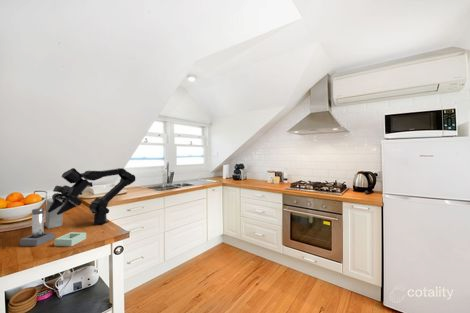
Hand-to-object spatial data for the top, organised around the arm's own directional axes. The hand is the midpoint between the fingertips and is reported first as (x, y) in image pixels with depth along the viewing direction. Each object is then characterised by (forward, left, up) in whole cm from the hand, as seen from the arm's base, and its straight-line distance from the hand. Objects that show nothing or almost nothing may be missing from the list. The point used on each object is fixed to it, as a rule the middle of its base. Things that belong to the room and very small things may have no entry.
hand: (52, 213), depth 100 cm
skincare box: (-16, -15, -13) cm, 25 cm away
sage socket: (+4, +14, -12) cm, 19 cm away
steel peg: (+5, -2, -12) cm, 14 cm away
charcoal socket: (+5, -2, -12) cm, 14 cm away
